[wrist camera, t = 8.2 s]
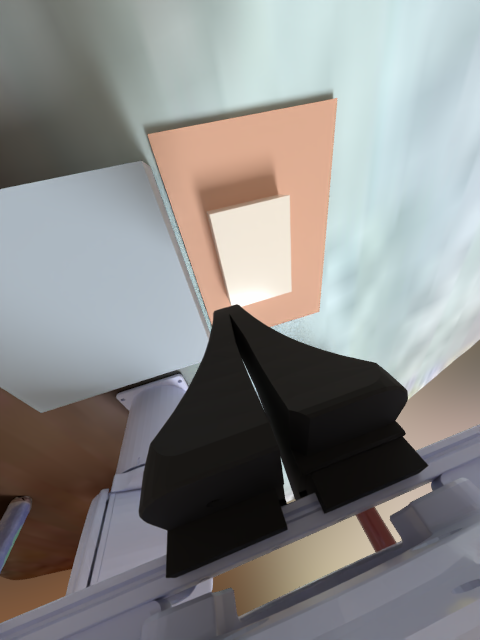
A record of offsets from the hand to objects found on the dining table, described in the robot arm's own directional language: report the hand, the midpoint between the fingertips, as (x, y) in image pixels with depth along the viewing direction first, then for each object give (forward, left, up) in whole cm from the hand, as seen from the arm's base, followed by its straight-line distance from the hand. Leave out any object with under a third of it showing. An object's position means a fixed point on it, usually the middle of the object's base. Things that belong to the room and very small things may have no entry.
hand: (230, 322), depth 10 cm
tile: (0, -4, -7) cm, 8 cm away
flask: (-31, +41, -10) cm, 52 cm away
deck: (0, +10, -9) cm, 14 cm away
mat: (0, -5, -9) cm, 11 cm away
